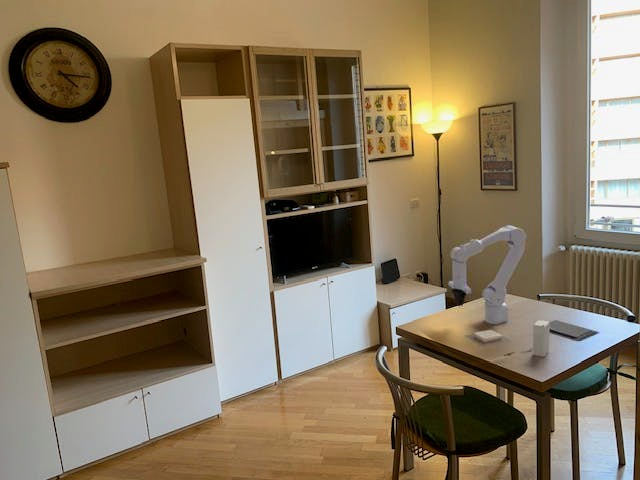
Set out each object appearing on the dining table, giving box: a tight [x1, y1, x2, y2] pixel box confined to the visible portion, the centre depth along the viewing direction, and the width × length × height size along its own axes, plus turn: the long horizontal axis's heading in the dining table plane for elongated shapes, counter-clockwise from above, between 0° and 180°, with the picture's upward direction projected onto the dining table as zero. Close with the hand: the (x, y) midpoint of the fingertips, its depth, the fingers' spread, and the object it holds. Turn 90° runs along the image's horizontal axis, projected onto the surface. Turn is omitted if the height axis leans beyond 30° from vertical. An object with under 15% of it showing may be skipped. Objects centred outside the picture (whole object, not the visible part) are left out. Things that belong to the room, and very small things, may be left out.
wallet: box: [549, 319, 600, 342], centre depth 209 cm, size 20×2×15 cm
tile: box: [473, 329, 503, 343], centre depth 203 cm, size 8×2×7 cm
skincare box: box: [532, 320, 551, 358], centre depth 188 cm, size 6×4×12 cm
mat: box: [465, 333, 511, 347], centre depth 204 cm, size 13×12×1 cm
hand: (459, 305), depth 219 cm, fingers closed
